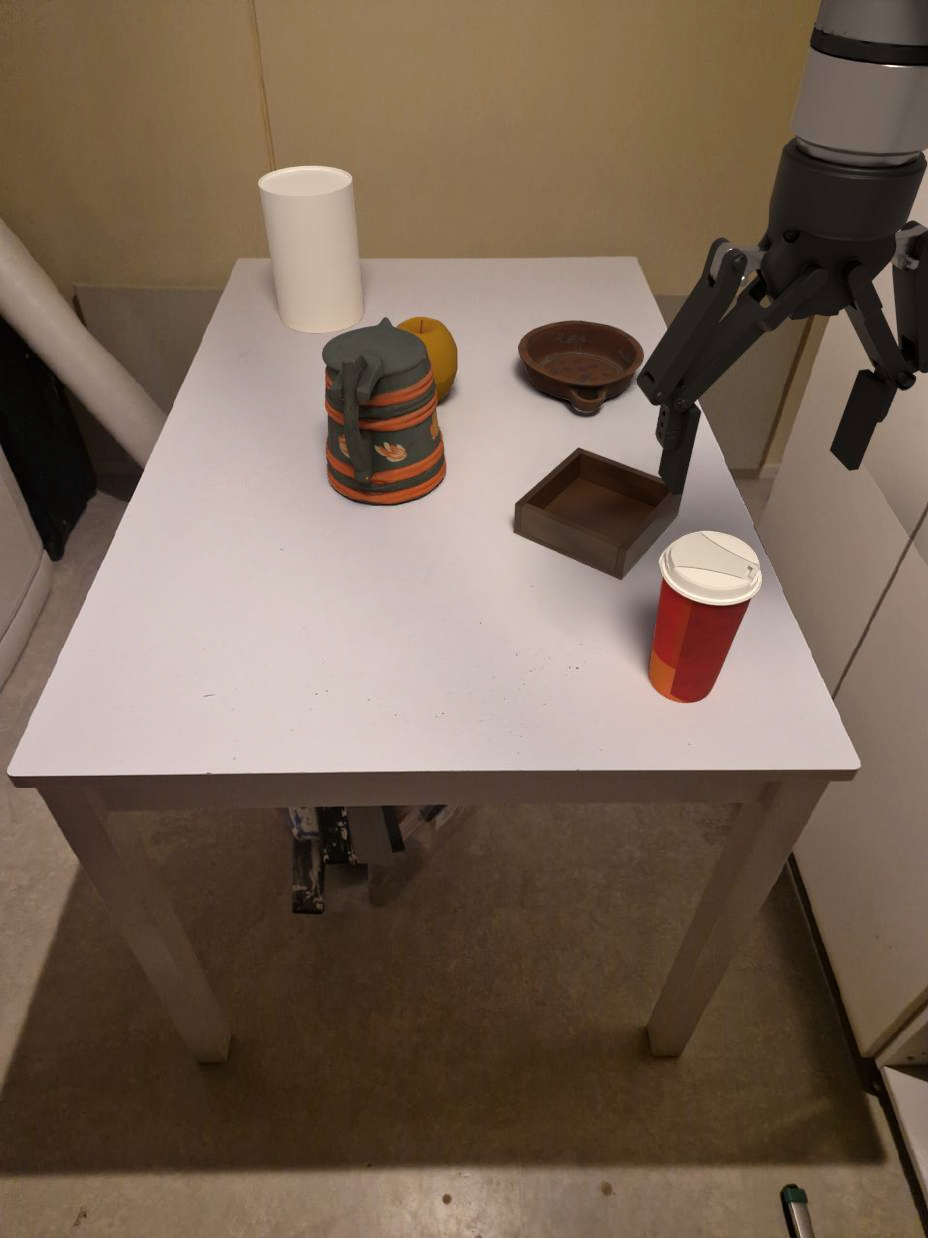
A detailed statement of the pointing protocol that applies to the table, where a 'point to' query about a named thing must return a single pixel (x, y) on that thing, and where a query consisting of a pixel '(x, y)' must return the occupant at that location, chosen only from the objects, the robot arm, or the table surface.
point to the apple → (436, 350)
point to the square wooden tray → (597, 512)
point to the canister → (313, 247)
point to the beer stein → (381, 416)
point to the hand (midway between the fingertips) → (758, 471)
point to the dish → (580, 361)
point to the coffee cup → (700, 611)
